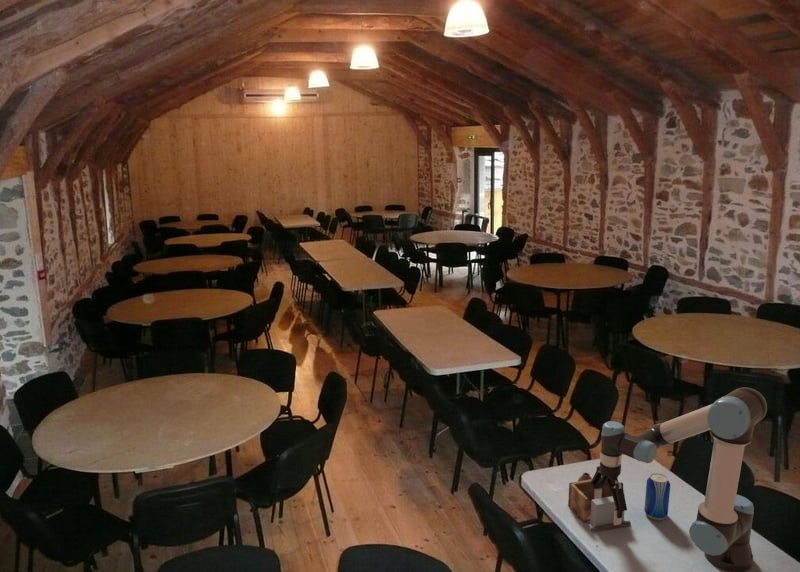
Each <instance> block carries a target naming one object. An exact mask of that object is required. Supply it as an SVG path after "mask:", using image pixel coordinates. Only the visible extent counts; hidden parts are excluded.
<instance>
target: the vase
mask: <svg viewBox="0 0 800 572" xmlns="http://www.w3.org/2000/svg"><path fill="white" fill-rule="evenodd" d="M590 479H593V477H591V475H590V473H588V472H583V473H582V475H581V476H580V477H578V479H577V481H576V482H578V481H584V480H590Z"/></svg>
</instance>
